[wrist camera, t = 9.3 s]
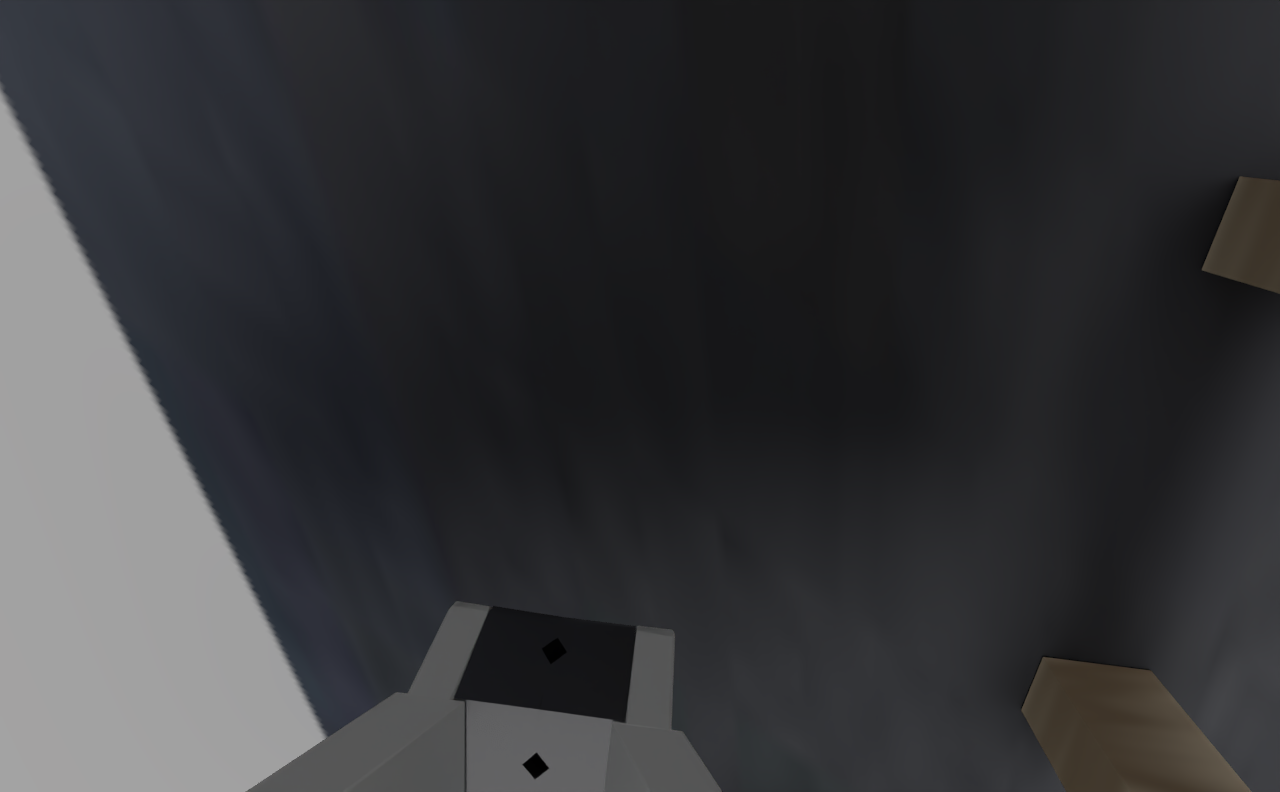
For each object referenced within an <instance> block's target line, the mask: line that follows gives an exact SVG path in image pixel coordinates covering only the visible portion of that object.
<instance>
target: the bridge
mask: <svg viewBox="0 0 1280 792" xmlns="http://www.w3.org/2000/svg"><path fill="white" fill-rule="evenodd" d="M1202 271H1206V272H1209V273H1212V274H1216V275H1219V276H1222V277H1226V278H1229V279H1232V280H1236V281H1239V282H1242V283H1246V284H1249V285H1252V286H1255V287H1259V288H1262V289H1265V290H1269V291H1272V292H1275V293H1279V294H1280V181H1279V180H1269V179H1260V178H1251V177H1242V176H1240V177H1239V179H1238V182H1237V184H1236V187H1235V189H1234V192H1233V194H1232V197H1231V199H1230V201H1229V204H1228V206H1227V209H1226V211H1225V214H1224V216H1223V219H1222V221H1221V223H1220V226H1219V228H1218V231H1217V233H1216V236H1215V238H1214V241H1213V243H1212V245H1211V248H1210V250H1209V253H1208V255H1207V258H1206V260H1205V262H1204V265H1203V267H1202ZM1021 711H1022V712H1023V714H1024V716H1025V718H1026V720H1027V721H1028V723H1029V725H1030V727H1031V729H1032V730H1033V732H1034V734H1035V736H1036V738H1037V739H1038V741H1039V743H1040V745H1041V747H1042V748H1043V750H1044V752H1045V754H1046V756H1047V757H1048V759H1049V761H1050V763H1051V765H1052V766H1053V768H1054V770H1055V772H1056V774H1057V775H1058V777H1059V779H1060V781H1061V783H1062V784H1063V786H1064V788H1065V790H1066V792H1251V791H1250V789H1249V788H1248V787H1247V786H1246V785H1245V783H1244V782H1243V781H1242V780H1241V779H1240V777H1239V776H1238V775H1237V774H1236V773H1235V771H1234V770H1233V769H1232V768H1231V766H1230V765H1229V764H1228V763H1227V762H1226V760H1225V759H1224V758H1223V757H1222V756H1221V754H1220V753H1219V752H1218V751H1217V750H1216V748H1215V747H1214V746H1213V745H1212V744H1211V742H1210V741H1209V740H1208V739H1207V738H1206V736H1205V735H1204V734H1203V733H1202V732H1201V730H1200V729H1199V728H1198V727H1197V725H1196V724H1195V723H1194V722H1193V721H1192V719H1191V718H1190V717H1189V716H1188V715H1187V713H1186V712H1185V711H1184V710H1183V709H1182V707H1181V706H1180V705H1179V704H1178V703H1177V701H1176V700H1175V699H1174V698H1173V697H1172V695H1171V694H1170V693H1169V692H1168V691H1167V689H1166V688H1165V687H1164V686H1163V685H1162V683H1161V682H1160V681H1159V680H1158V678H1157V677H1156V676H1155V675H1154V674H1153V672H1152V671H1151V670H1143V669H1135V668H1127V667H1119V666H1111V665H1103V664H1095V663H1088V662H1080V661H1072V660H1064V659H1056V658H1048V657H1043V658H1042V661H1041V663H1040V665H1039V668H1038V670H1037V673H1036V675H1035V678H1034V680H1033V683H1032V685H1031V687H1030V690H1029V692H1028V695H1027V697H1026V700H1025V702H1024V705H1023V707H1022V709H1021Z"/></svg>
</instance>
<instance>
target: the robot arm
mask: <svg viewBox="0 0 1280 792" xmlns="http://www.w3.org/2000/svg"><path fill="white" fill-rule="evenodd" d="M635 629H636V632H635ZM674 648H675V634H674V632H673V630H671V629H662V628H654V627H645V626H637V628H636V626H631V625H623V624H615V623H607V622H599V621H591V620H583V619H575V618H567V617H560V616H553V615H547V614H541V613H534V612H528V611H521V610H515V609H509V608H502V607H496V606H493V607H490V606H485V605H478V604H472V603H466V602H460V601H456V602H455V603H454V604H453V605H452V606H451V607H450V608H449V610H448V612H447V614H446V616H445V618H444V620H443V622H442V624H441V626H440V628H439V630H438V632H437V634H436V636H435V638H434V641H433V643H432V645H431V647H430V649H429V651H428V653H427V655H426V657H425V659H424V661H423V663H422V665H421V667H420V669H419V671H418V673H417V675H416V677H415V679H414V681H413V683H412V686H411V688H410V690H409V692H408V694H407V693H398V692H396V693H394V694H393V695H391V696H390V697H388V698H387V699H385V700H384V701H382V702H381V703H379V704H378V705H376V706H375V707H373V708H372V709H370V710H369V711H367V712H365V713H364V714H362V715H361V716H359V717H358V718H356V719H355V720H353V721H352V722H350V723H349V724H347V725H346V726H344V727H343V728H341V729H340V730H338V731H337V732H335V733H334V734H332V735H331V736H329V737H328V738H326V739H325V740H323V741H322V742H320V743H319V744H317V745H316V746H314V747H313V748H311V749H310V750H308V751H307V752H305V753H304V754H302V755H301V756H299V757H298V758H296V759H295V760H293V761H292V762H290V763H289V764H287V765H286V766H284V767H283V768H281V769H279V770H278V771H276V772H275V773H273V774H272V775H271V776H269V777H267V778H266V779H264V780H263V781H262V782H260V783H258V784H257V785H255V786H254V787H253V788H251V789H249V790H248V791H246V792H722V790H721V789H720V787H719V786H718V784H717V783H716V781H715V780H714V778H713V777H712V775H711V774H710V772H709V771H708V769H707V768H706V766H705V765H704V763H703V761H702V760H701V758H700V757H699V755H698V754H697V752H696V751H695V749H694V748H693V746H692V745H691V743H690V742H689V740H688V739H687V737H686V736H685V734H684V733H683V732H682V731H676V730H671V723H672V698H673V673H674Z"/></svg>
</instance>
